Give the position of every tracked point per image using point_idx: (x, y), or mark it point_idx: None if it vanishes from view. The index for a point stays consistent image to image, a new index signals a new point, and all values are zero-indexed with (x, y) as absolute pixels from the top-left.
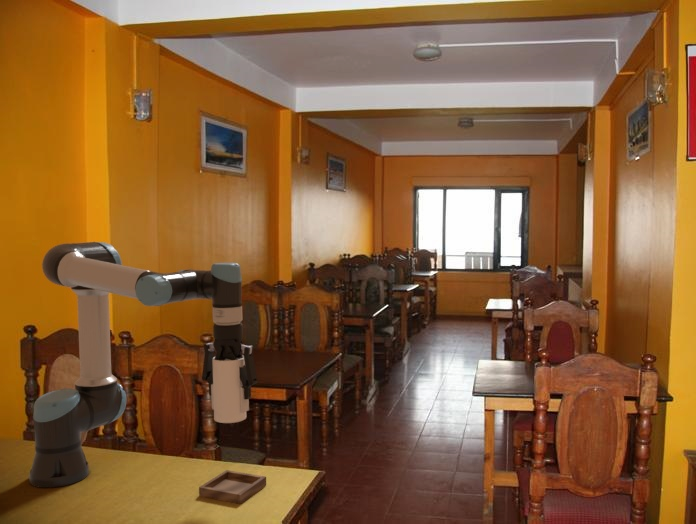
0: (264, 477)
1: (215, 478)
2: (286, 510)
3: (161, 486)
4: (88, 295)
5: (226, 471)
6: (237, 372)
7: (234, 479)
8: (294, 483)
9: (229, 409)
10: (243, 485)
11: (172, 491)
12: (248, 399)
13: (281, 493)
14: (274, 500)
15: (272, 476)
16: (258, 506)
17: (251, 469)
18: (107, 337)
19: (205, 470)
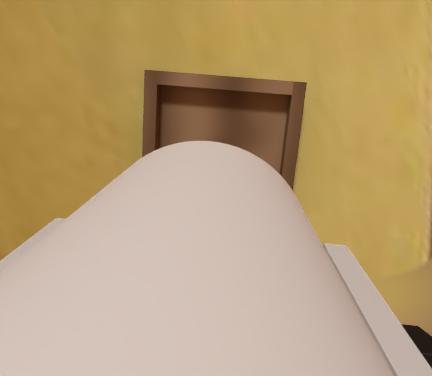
0: (303, 90)
1: (149, 147)
2: (422, 223)
3: (2, 187)
4: None
5: (151, 82)
6: None
7: (191, 93)
8: (388, 38)
9: None
10: (242, 129)
11: (55, 207)
12: (374, 290)
13: (371, 125)
14: (367, 176)
15: (292, 3)
16: (337, 223)
17: None
18: None
19: (43, 29)
